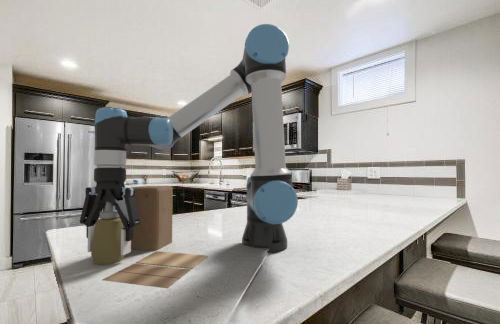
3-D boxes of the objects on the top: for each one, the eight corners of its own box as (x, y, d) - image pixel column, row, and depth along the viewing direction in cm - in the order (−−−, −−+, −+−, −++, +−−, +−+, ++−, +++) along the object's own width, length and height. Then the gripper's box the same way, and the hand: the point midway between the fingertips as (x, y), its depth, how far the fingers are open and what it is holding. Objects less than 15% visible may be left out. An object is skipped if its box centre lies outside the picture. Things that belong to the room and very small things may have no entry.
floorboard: (191, 275, 61) (191, 269, 61) (167, 295, 51) (167, 287, 51) (133, 269, 65) (133, 263, 65) (101, 286, 55) (101, 279, 55)
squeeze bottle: (100, 261, 71) (101, 196, 72) (130, 260, 72) (131, 195, 73) (84, 272, 63) (85, 199, 64) (118, 271, 64) (119, 198, 65)
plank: (207, 261, 70) (207, 255, 70) (192, 275, 62) (192, 268, 62) (156, 256, 74) (156, 251, 74) (134, 269, 66) (134, 262, 66)
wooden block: (156, 255, 76) (157, 187, 76) (126, 253, 78) (127, 187, 78) (173, 246, 85) (173, 185, 86) (146, 244, 87) (146, 185, 88)
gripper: (155, 167, 69) (155, 250, 69) (88, 167, 75) (87, 245, 74) (137, 166, 62) (135, 260, 61) (64, 167, 68) (62, 253, 67)
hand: (109, 251), depth 68 cm, fingers open, 10 cm apart
